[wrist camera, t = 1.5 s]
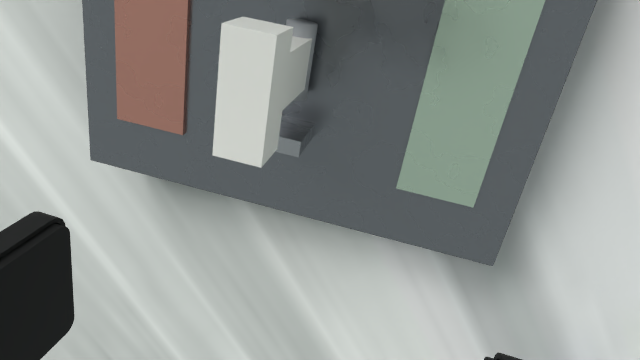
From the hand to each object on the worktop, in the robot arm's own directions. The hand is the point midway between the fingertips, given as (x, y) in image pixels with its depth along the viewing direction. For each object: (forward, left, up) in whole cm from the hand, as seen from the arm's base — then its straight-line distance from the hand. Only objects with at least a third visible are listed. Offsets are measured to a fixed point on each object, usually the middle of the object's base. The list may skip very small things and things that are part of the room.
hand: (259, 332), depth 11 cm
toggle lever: (-1, -5, -22) cm, 22 cm away
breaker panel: (-1, -5, -27) cm, 27 cm away
